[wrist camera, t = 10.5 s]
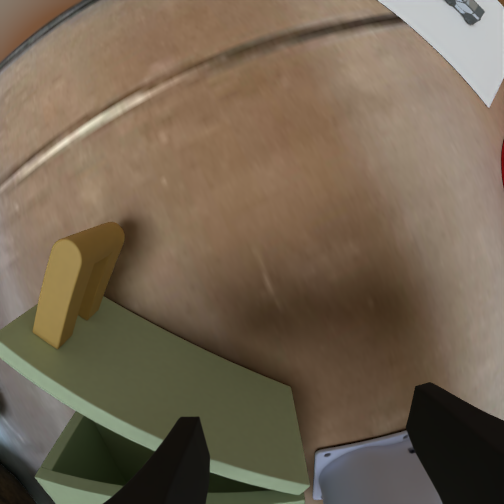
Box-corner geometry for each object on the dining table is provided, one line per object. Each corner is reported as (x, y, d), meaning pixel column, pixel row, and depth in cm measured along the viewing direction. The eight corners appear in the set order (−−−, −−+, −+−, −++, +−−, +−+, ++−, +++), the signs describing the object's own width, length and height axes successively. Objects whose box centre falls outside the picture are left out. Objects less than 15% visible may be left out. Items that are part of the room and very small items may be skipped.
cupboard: (82, 399, 21) (34, 476, 12) (287, 398, 21) (305, 500, 12) (128, 487, 24) (106, 555, 15) (291, 489, 23) (301, 566, 15)
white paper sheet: (424, -65, 13) (431, -73, 11) (523, 30, 14) (533, 26, 13) (363, -10, 15) (370, -21, 13) (488, 108, 16) (501, 105, 15)
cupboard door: (102, 204, 18) (8, 225, 9) (334, 324, 19) (384, 412, 11) (71, 290, 19) (-10, 351, 10) (283, 396, 21) (299, 495, 12)
